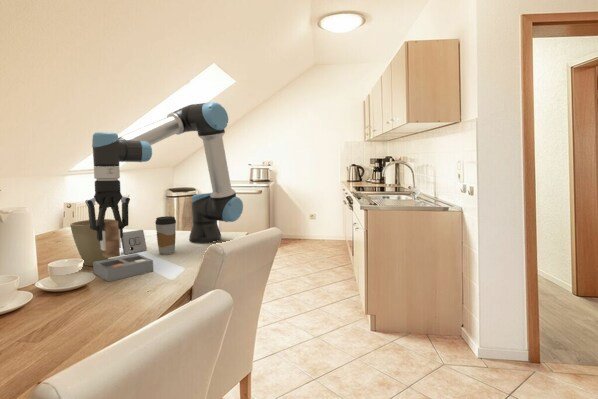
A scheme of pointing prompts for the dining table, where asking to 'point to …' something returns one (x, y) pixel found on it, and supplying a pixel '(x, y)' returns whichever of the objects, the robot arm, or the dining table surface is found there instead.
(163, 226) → the coffee cup
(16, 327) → the dining table surface
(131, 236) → the electrical switch
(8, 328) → the dining table surface
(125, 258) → the grey compartment tray
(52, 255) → the dining table surface
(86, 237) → the plant pot
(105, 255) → the plug
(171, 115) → the robot arm
